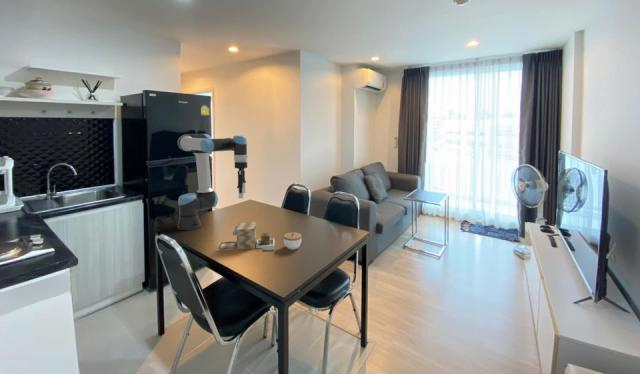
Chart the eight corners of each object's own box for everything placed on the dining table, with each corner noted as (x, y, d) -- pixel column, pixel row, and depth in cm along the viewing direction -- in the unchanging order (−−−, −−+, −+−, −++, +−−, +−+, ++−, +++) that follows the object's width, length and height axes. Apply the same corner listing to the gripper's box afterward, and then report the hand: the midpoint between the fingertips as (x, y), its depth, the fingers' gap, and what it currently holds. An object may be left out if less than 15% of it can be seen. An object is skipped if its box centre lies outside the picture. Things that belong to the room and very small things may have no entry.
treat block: (261, 247, 179) (261, 236, 177) (261, 243, 183) (261, 233, 182) (269, 246, 179) (269, 235, 178) (269, 243, 184) (269, 232, 183)
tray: (256, 250, 175) (256, 246, 175) (257, 243, 186) (257, 239, 185) (274, 249, 177) (274, 245, 177) (274, 242, 187) (274, 238, 187)
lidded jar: (291, 242, 188) (291, 228, 186) (305, 246, 182) (305, 232, 180) (279, 248, 179) (279, 233, 177) (293, 252, 173) (293, 237, 171)
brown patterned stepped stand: (215, 252, 172) (214, 230, 169) (219, 244, 183) (218, 223, 181) (255, 250, 175) (254, 228, 172) (256, 242, 187) (255, 222, 184)
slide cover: (232, 235, 172) (232, 231, 172) (234, 229, 182) (234, 226, 181) (250, 234, 174) (250, 231, 173) (251, 228, 183) (251, 225, 183)
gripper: (245, 164, 170) (246, 200, 175) (248, 159, 194) (249, 190, 199) (231, 164, 169) (233, 200, 174) (236, 159, 193) (238, 191, 198)
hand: (242, 195), depth 186 cm, fingers open, 13 cm apart
